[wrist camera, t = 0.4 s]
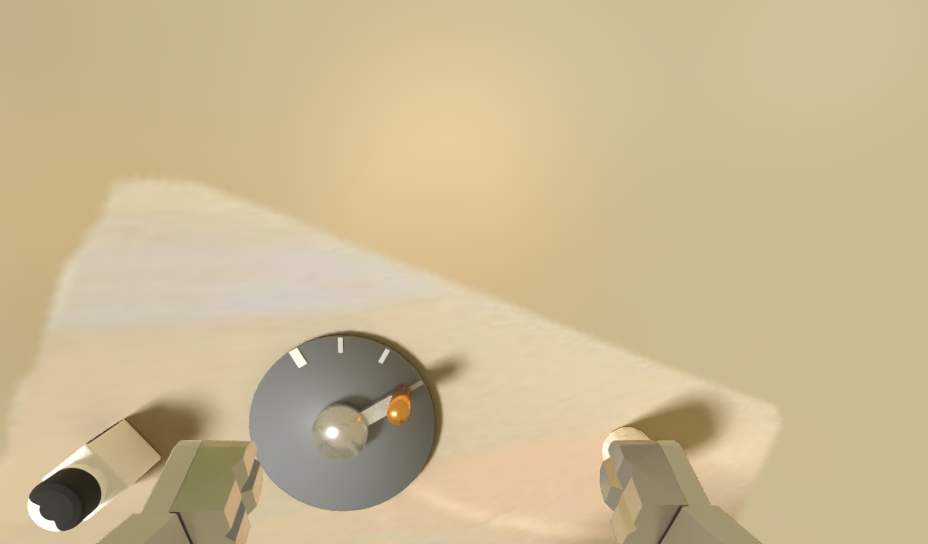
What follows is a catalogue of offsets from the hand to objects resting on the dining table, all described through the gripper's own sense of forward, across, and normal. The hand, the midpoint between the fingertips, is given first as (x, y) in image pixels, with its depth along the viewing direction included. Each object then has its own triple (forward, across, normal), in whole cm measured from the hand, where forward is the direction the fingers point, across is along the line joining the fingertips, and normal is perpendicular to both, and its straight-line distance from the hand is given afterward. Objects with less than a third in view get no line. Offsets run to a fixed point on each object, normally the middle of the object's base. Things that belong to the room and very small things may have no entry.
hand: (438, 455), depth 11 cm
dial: (+35, -7, -42) cm, 55 cm away
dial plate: (+36, -10, -44) cm, 58 cm away
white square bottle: (+35, -38, -49) cm, 72 cm away
